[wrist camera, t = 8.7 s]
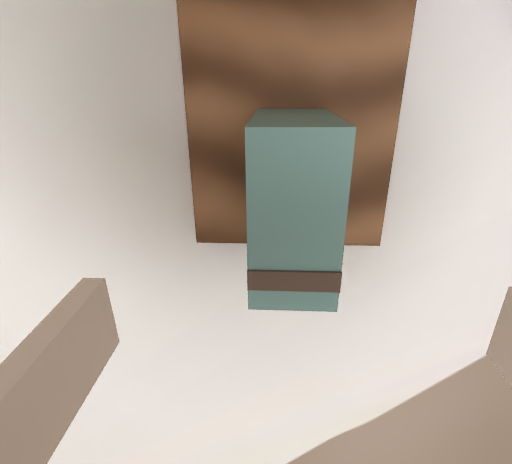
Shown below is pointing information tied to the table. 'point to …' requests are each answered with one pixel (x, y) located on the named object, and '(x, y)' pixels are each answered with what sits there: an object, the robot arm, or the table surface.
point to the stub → (296, 207)
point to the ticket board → (291, 94)
